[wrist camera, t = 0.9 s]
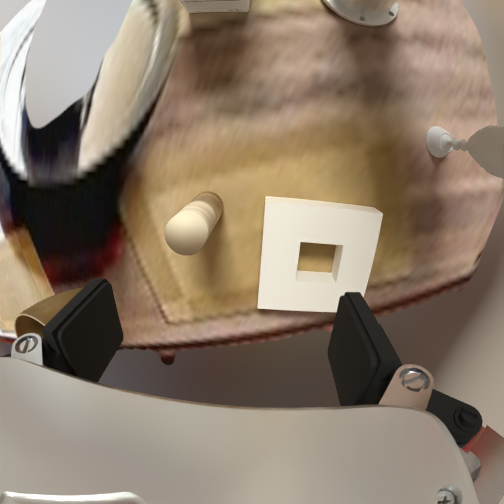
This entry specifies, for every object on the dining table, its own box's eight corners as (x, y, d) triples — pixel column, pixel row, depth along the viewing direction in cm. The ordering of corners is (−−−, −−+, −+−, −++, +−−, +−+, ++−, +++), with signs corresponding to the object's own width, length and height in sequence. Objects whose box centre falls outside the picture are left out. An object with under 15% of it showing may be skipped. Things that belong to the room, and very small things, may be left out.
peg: (193, 191, 38) (163, 214, 27) (223, 192, 38) (205, 216, 27) (193, 220, 40) (165, 253, 29) (223, 222, 39) (205, 257, 28)
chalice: (459, 135, 31) (540, 148, 15) (447, 171, 34) (527, 200, 17) (427, 111, 30) (510, 110, 14) (414, 150, 33) (497, 168, 17)
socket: (265, 196, 38) (265, 201, 34) (374, 207, 37) (383, 213, 34) (258, 295, 44) (257, 308, 41) (353, 300, 44) (359, 312, 40)
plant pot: (130, 315, 48) (92, 375, 33) (93, 339, 51) (60, 389, 37) (80, 255, 43) (25, 300, 28) (50, 289, 47) (6, 331, 32)
